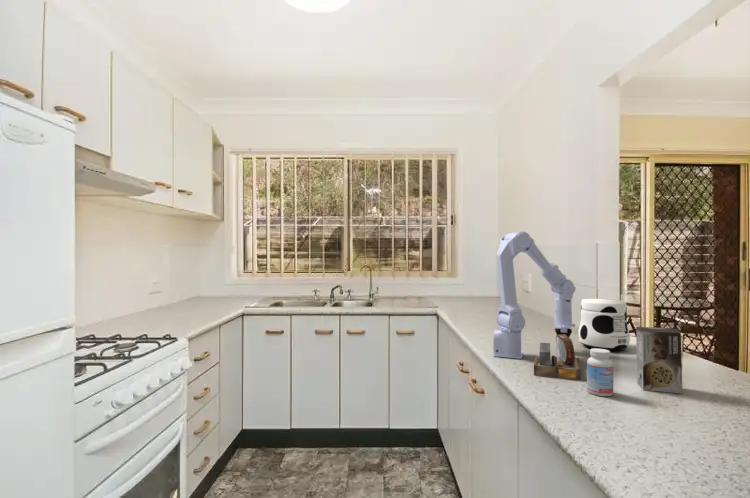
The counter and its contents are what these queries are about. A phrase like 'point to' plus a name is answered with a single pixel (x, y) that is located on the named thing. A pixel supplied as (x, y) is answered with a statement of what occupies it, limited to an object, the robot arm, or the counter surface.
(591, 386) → the pill bottle
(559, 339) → the tin
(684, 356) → the counter surface
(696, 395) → the counter surface
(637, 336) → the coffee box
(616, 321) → the milk container
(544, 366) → the rack
